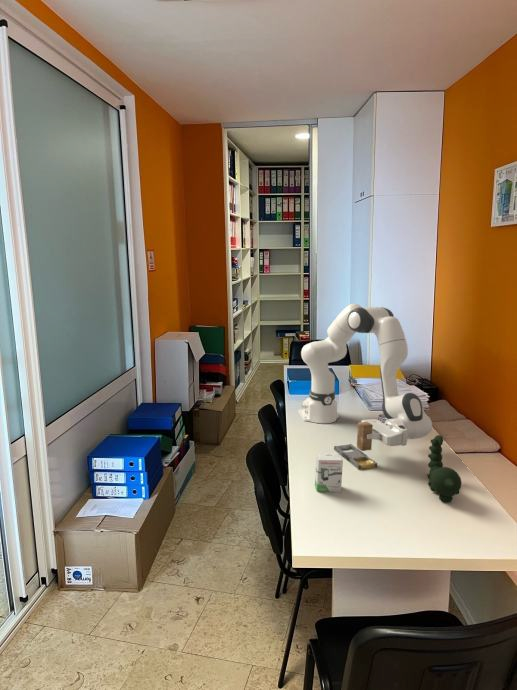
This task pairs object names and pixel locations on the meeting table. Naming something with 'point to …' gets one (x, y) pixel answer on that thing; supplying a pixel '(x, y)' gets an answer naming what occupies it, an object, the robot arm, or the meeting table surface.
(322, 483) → the ink box
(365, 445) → the walnut peg
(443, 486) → the toy figurine
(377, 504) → the meeting table surface
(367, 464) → the tray
